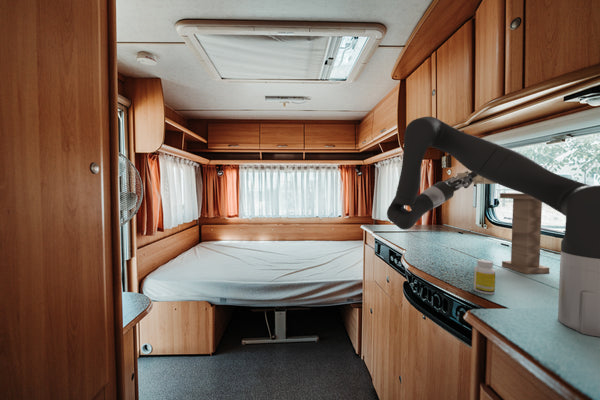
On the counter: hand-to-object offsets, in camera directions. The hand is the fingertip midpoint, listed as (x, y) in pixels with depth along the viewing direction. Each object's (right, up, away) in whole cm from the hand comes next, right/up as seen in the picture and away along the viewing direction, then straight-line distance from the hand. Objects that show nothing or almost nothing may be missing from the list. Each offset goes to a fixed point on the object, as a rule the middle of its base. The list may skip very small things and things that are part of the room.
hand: (471, 173), depth 94 cm
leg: (+3, -4, 0) cm, 5 cm away
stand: (+25, -39, +4) cm, 46 cm away
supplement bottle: (-8, -40, -17) cm, 44 cm away
